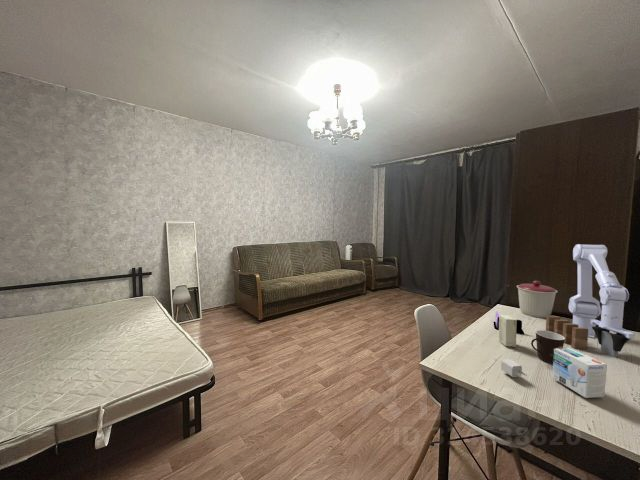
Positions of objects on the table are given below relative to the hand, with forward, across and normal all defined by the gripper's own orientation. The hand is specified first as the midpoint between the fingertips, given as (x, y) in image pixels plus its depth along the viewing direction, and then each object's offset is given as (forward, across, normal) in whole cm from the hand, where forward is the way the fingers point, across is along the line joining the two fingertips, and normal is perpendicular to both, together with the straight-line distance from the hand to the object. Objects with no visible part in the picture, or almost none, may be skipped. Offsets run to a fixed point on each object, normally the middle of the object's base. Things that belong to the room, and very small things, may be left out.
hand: (609, 347), depth 102 cm
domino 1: (+3, -18, -8) cm, 20 cm away
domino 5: (+3, 0, 0) cm, 3 cm away
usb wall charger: (+3, +18, -50) cm, 53 cm away
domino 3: (+3, -9, -8) cm, 12 cm away
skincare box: (+3, -7, -36) cm, 37 cm away
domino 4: (+3, -4, -8) cm, 9 cm away
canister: (+3, -44, +4) cm, 45 cm away
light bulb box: (+3, +23, -33) cm, 41 cm away
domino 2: (+3, -13, -8) cm, 16 cm away
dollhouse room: (+3, -24, -24) cm, 34 cm away
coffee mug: (+3, +5, -30) cm, 30 cm away
